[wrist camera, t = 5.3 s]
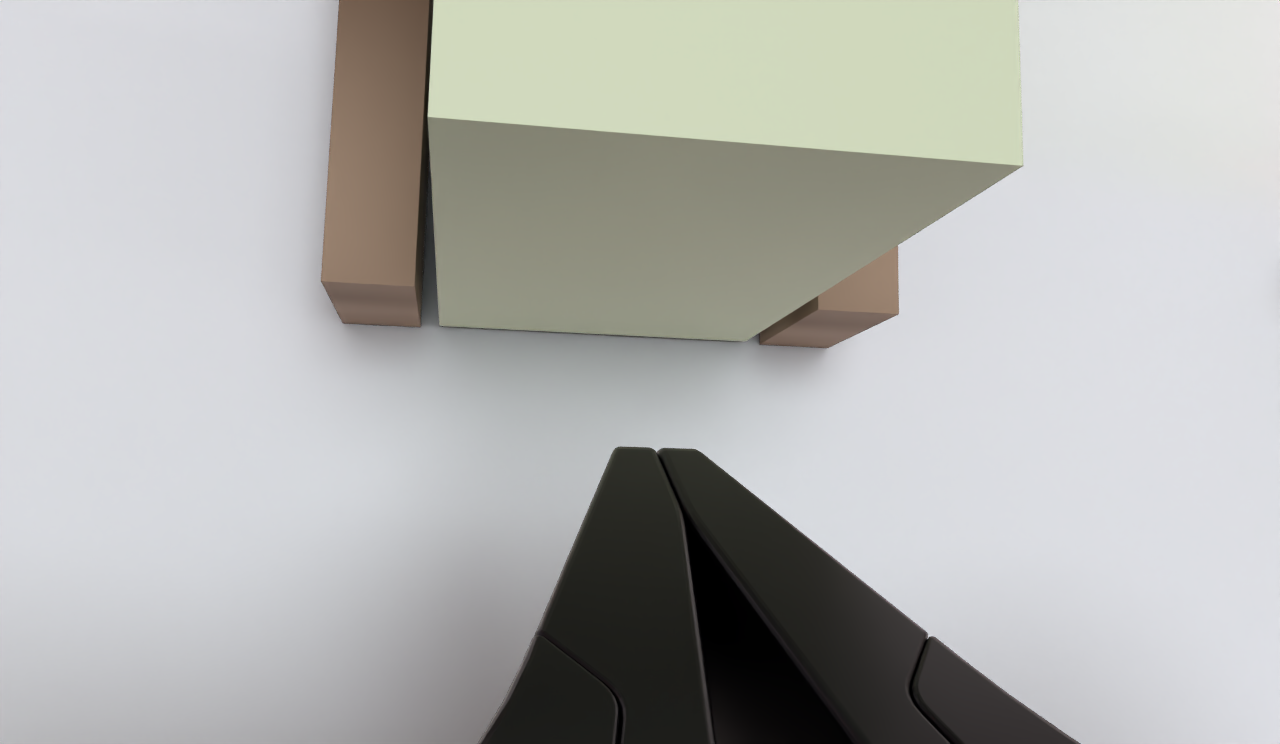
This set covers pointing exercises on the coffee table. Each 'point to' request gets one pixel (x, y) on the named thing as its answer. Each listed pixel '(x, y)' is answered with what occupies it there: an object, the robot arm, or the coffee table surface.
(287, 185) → the coffee table surface
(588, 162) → the pale green block
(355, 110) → the walnut console
